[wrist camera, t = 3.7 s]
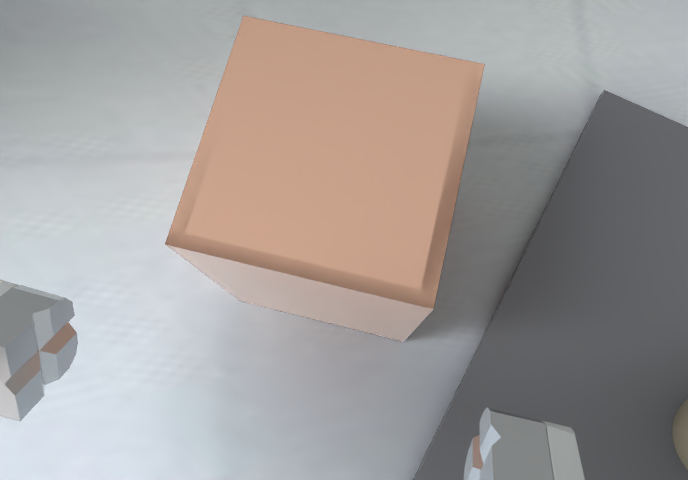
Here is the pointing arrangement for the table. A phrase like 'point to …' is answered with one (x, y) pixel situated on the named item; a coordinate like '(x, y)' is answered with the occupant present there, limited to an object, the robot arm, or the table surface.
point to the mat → (595, 310)
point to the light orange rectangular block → (329, 176)
